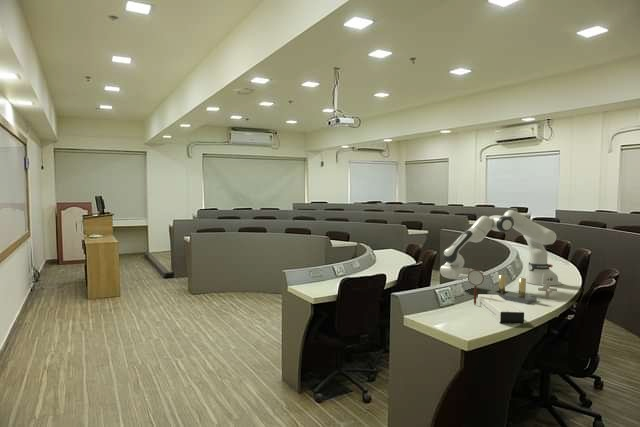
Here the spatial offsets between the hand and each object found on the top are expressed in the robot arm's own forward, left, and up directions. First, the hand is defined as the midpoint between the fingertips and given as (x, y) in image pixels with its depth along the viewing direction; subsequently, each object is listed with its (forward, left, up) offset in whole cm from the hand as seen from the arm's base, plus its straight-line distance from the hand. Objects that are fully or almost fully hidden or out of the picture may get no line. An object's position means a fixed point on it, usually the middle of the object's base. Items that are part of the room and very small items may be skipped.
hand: (483, 277), depth 259 cm
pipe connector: (-33, +16, -10) cm, 37 cm away
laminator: (+14, +43, -10) cm, 46 cm away
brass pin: (-7, +10, -9) cm, 15 cm away
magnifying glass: (+19, +27, -10) cm, 34 cm away
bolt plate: (-10, +14, -9) cm, 20 cm away
